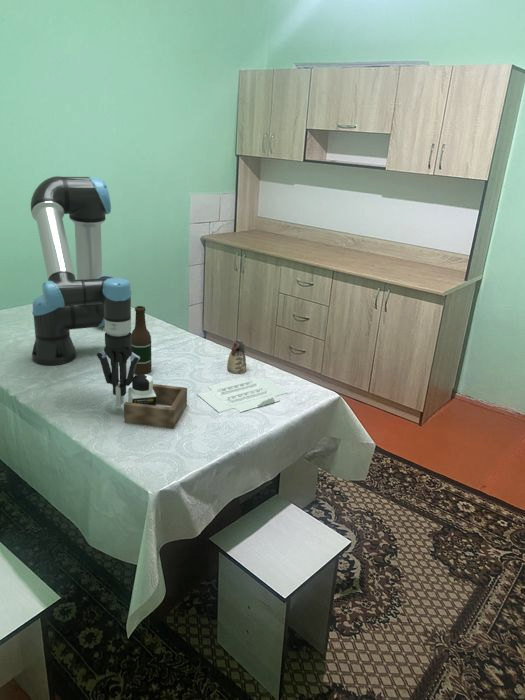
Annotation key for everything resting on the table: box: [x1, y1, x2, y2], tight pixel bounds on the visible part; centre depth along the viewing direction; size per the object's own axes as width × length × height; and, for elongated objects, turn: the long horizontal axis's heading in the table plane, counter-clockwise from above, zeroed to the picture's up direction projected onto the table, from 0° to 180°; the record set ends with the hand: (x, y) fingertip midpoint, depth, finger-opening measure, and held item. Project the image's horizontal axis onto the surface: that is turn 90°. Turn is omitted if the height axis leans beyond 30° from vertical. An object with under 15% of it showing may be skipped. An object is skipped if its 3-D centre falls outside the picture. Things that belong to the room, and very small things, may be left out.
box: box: [123, 383, 188, 429], centre depth 163 cm, size 15×15×6 cm
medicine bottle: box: [127, 374, 157, 406], centre depth 161 cm, size 7×7×12 cm
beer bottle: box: [129, 305, 153, 376], centre depth 186 cm, size 8×8×24 cm
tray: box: [196, 376, 289, 414], centre depth 179 cm, size 20×28×4 cm
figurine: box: [226, 339, 247, 375], centre depth 195 cm, size 7×7×12 cm
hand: (119, 404), depth 163 cm, fingers closed
